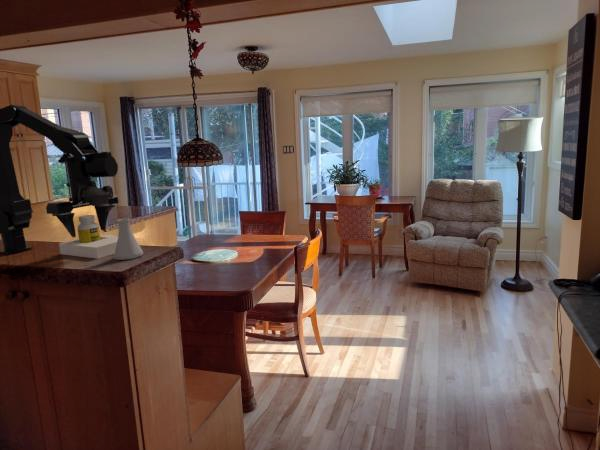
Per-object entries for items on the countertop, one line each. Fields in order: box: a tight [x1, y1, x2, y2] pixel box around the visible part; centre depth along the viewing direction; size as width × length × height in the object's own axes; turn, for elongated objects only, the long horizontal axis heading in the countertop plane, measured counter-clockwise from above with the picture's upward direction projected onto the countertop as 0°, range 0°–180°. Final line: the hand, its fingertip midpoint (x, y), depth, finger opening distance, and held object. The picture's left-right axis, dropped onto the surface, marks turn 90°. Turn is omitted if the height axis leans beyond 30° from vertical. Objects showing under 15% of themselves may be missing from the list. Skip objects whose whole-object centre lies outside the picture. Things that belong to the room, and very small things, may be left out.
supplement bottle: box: [77, 214, 100, 243], centre depth 125 cm, size 5×5×10 cm
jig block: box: [58, 233, 118, 260], centre depth 124 cm, size 16×12×3 cm
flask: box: [113, 217, 144, 261], centre depth 114 cm, size 7×7×10 cm
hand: (88, 233), depth 125 cm, fingers open, 9 cm apart
